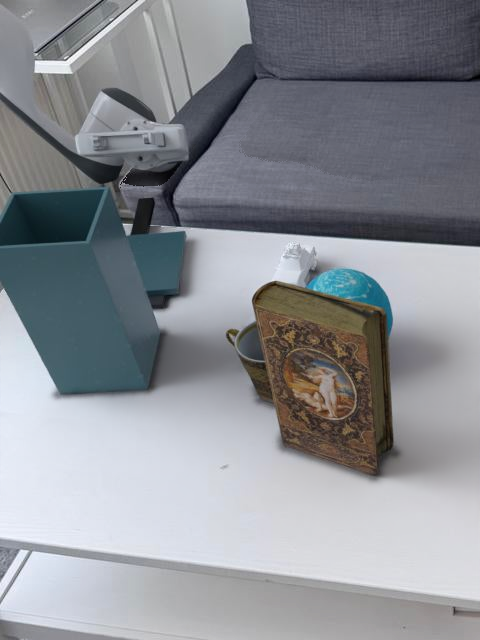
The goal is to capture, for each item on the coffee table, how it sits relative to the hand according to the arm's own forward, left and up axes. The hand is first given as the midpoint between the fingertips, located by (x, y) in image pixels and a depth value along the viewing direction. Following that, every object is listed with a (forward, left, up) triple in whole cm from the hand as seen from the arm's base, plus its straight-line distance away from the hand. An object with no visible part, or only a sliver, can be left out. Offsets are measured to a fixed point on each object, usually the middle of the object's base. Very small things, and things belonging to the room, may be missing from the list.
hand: (120, 139), depth 133 cm
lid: (+5, -6, -16) cm, 18 cm away
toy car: (+35, +8, -17) cm, 40 cm away
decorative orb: (+57, 0, -17) cm, 59 cm away
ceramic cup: (+53, -13, -17) cm, 57 cm away
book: (+70, -15, -17) cm, 73 cm away
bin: (+29, -27, -17) cm, 43 cm away
